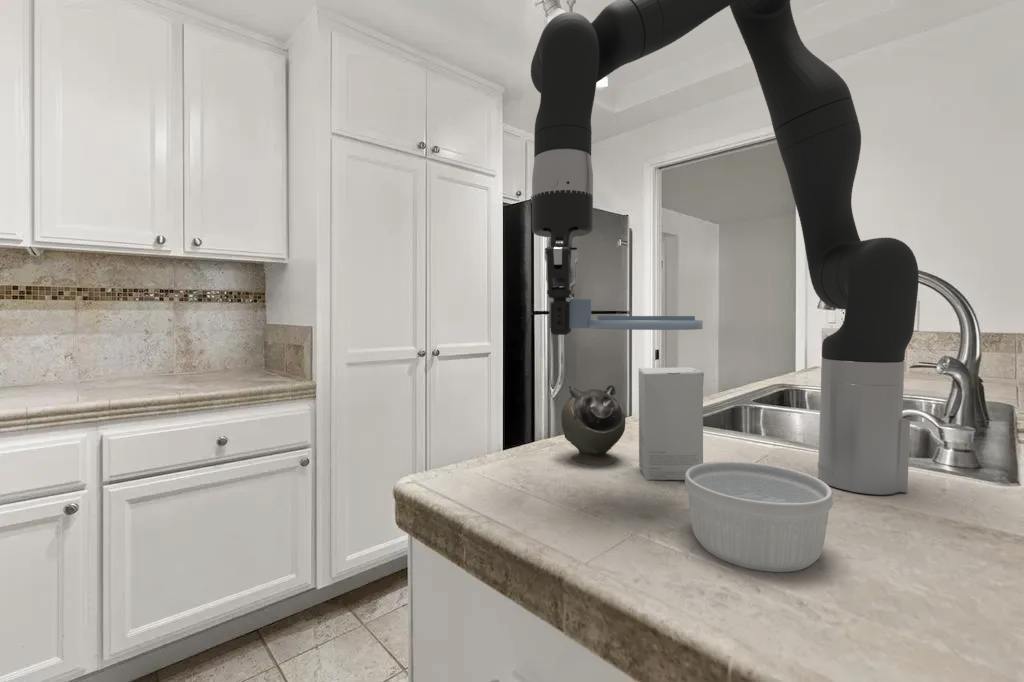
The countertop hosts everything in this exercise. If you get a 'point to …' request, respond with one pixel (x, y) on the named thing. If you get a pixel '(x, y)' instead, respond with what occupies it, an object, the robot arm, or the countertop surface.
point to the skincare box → (670, 421)
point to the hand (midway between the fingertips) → (561, 333)
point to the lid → (625, 320)
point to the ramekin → (758, 514)
